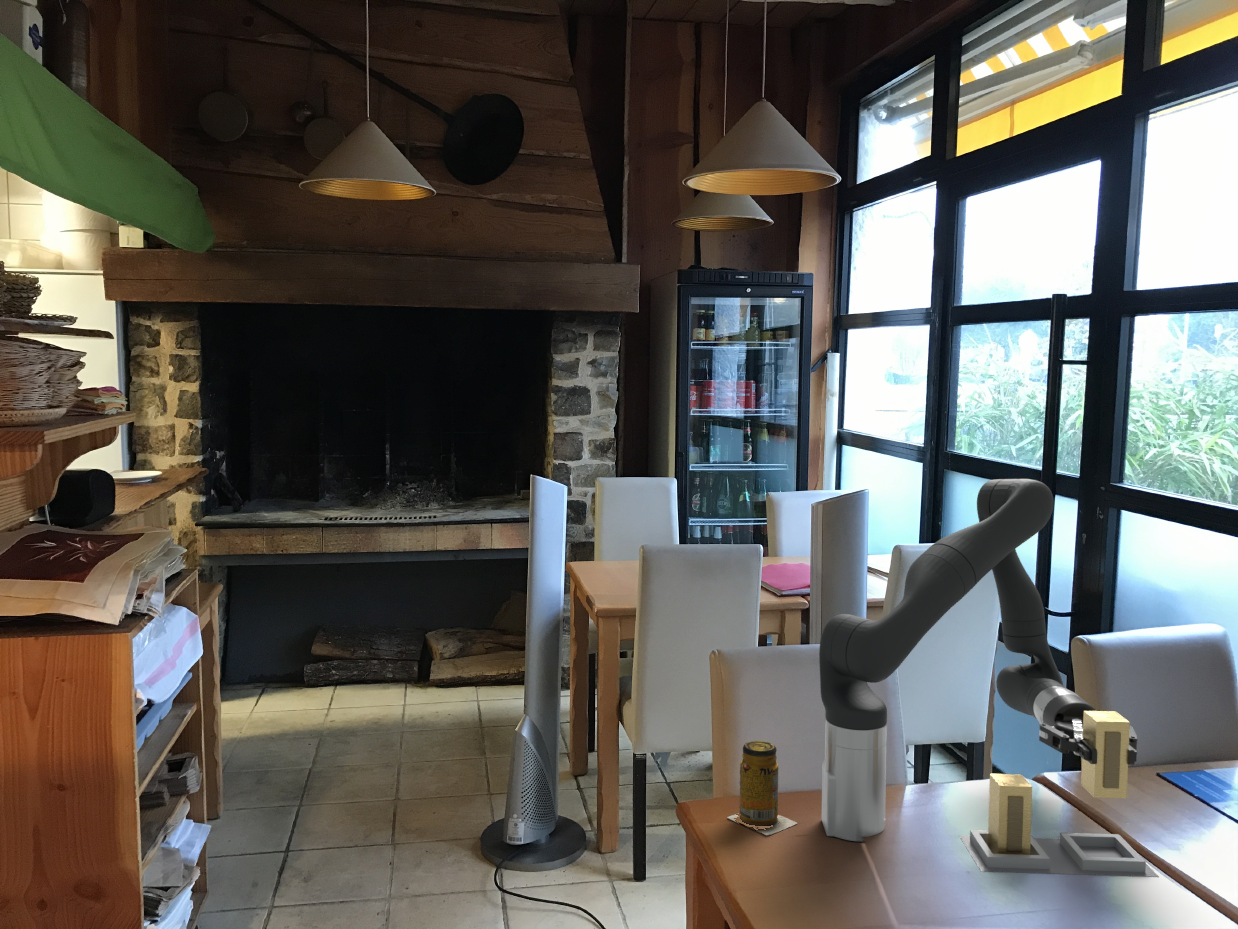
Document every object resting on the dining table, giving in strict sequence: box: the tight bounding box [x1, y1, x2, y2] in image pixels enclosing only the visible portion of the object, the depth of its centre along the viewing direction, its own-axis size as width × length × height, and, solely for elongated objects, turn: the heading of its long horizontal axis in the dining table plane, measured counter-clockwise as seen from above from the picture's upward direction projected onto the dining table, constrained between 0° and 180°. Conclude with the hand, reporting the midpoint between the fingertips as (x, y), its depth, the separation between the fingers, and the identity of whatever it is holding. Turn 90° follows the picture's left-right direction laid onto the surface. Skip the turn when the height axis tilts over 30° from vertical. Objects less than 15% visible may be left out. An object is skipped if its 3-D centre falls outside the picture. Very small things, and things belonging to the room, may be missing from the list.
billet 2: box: [1080, 710, 1131, 799], centre depth 140 cm, size 4×5×11 cm
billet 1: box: [987, 773, 1033, 855], centre depth 142 cm, size 4×5×11 cm
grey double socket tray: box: [959, 829, 1160, 878], centre depth 142 cm, size 24×11×2 cm, turn 86°
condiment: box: [726, 740, 798, 836], centre depth 155 cm, size 7×8×12 cm
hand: (1113, 757), depth 138 cm, fingers closed on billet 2, 4 cm apart
